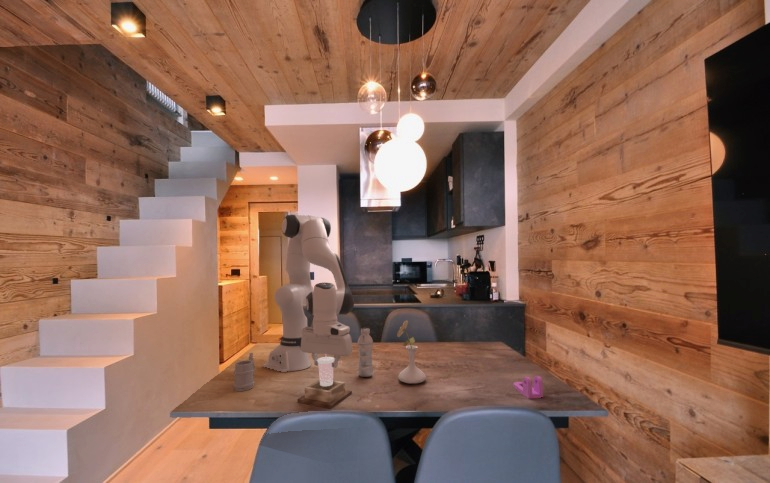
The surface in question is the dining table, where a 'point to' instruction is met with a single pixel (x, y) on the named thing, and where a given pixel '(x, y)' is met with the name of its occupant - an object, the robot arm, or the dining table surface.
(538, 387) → the bracket
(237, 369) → the mug
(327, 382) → the beverage cup
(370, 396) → the dining table surface
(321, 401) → the socket stand
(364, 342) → the plastic bottle
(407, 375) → the flower in vase
